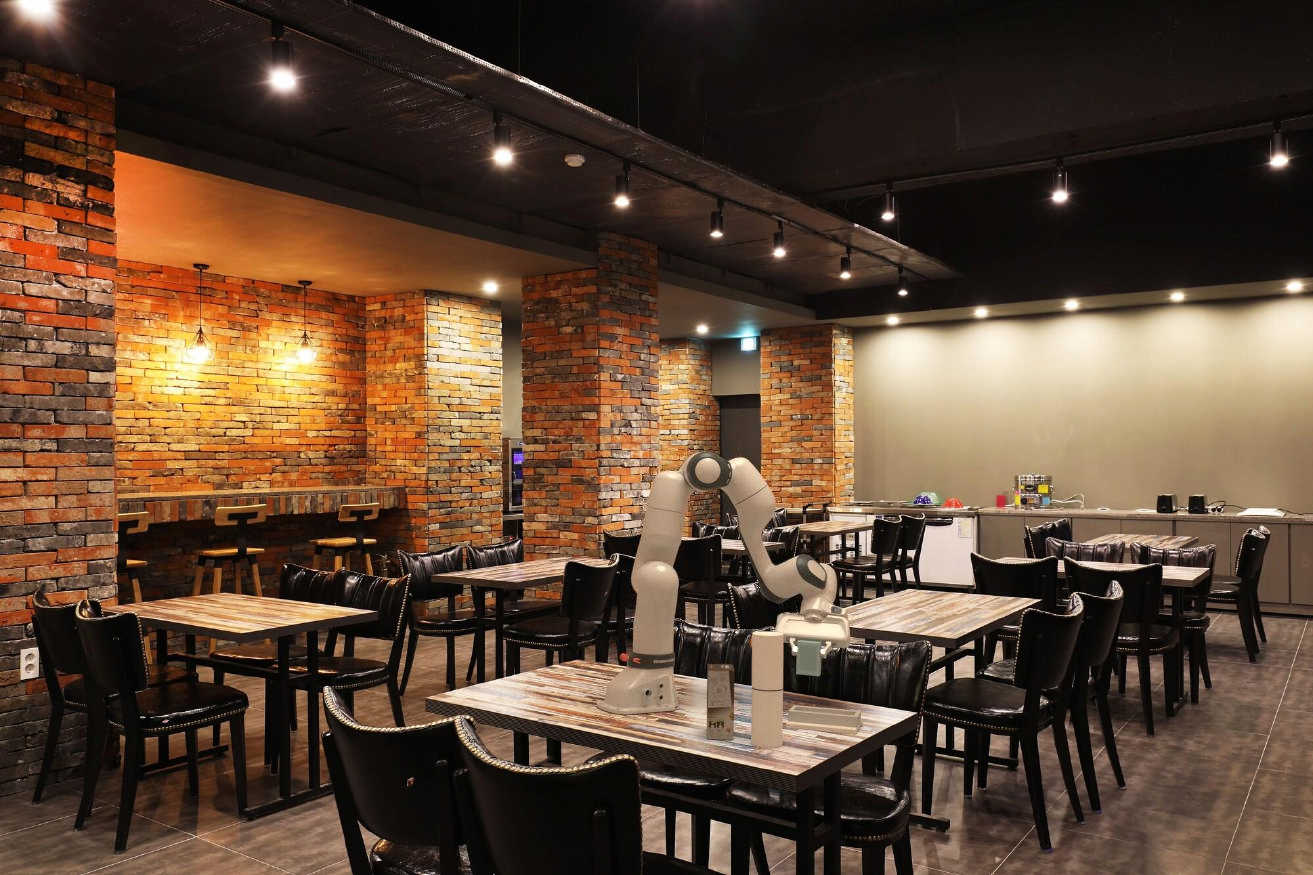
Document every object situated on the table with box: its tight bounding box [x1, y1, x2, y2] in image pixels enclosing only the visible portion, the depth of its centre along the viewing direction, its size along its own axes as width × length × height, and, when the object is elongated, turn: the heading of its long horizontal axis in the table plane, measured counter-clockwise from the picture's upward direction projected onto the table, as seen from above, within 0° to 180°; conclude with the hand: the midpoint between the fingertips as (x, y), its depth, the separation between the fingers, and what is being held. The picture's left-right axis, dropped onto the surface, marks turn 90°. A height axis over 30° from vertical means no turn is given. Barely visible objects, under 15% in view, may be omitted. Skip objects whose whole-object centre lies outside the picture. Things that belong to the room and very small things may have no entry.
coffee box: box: [706, 663, 735, 741], centre depth 225 cm, size 9×6×16 cm
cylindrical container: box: [750, 631, 784, 749], centre depth 218 cm, size 7×7×25 cm
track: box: [785, 704, 863, 735], centre depth 236 cm, size 13×17×4 cm
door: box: [795, 640, 823, 677], centre depth 251 cm, size 3×6×8 cm, turn 71°
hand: (808, 655), depth 250 cm, fingers closed on door, 6 cm apart
